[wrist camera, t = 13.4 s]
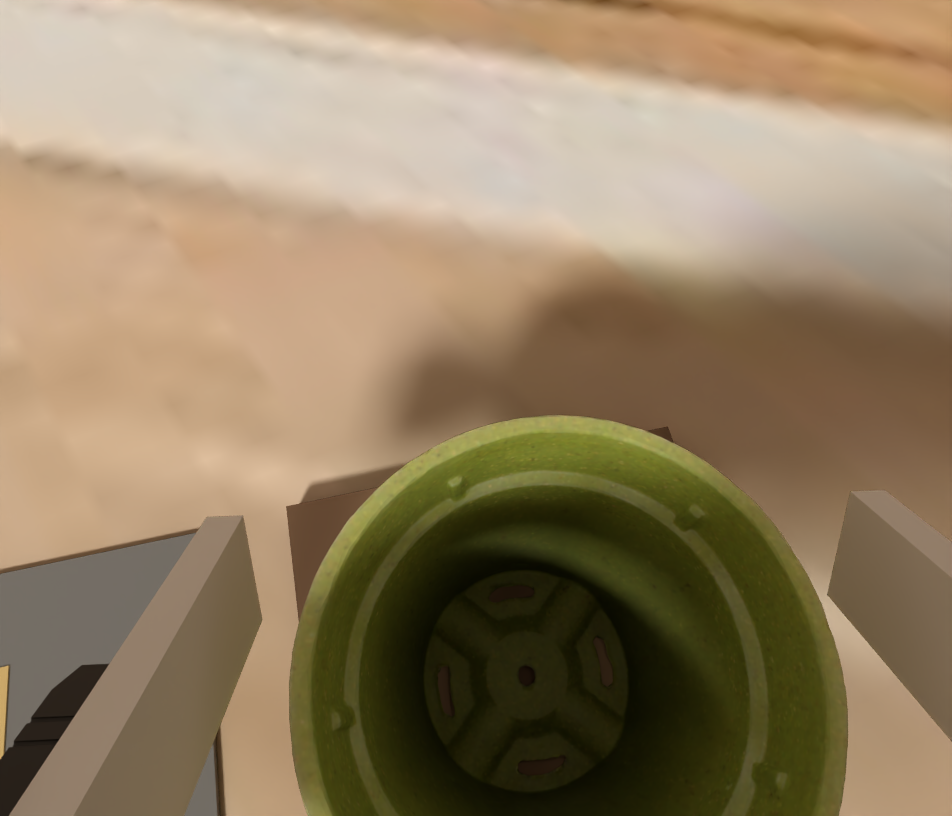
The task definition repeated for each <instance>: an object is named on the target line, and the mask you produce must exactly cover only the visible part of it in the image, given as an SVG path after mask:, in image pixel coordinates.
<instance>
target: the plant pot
mask: <svg viewBox="0 0 952 816" xmlns="http://www.w3.org/2000/svg"><path fill="white" fill-rule="evenodd" d="M516 585H523V586H528V587H530V588H532V589H533V590H534V594H533V595H532V597H521V598H518V597H516V598H508V599H504V600H501V601H500V602H495V603H493V602H491V601H490V600H489V596H490V595H491V593H492V592H494V591H495V590H496V589H497V588H501V587H510V586H516ZM596 636H597V637H598V638H601V639H602V640H603V641H604V642H605V646H606V650H607V655H608V658H609V660H610V661H611V663H612V666H613V682H612V684H610V685H609V686H608V687H606V686H605V685H604V684H602V680H601V676H602V675H601V671H600V664H599V659H598V655H597V651H596V648H595V646H594V644H593V640H594V638H595V637H596ZM444 666H448V668H449V676H450V692H451V697H452V702H453V706H454V710H455V714H454V716H450V715H449V714H446V713H445V712H444V710H443V707H442V704H441V700H440V692H439V687H438V673H439V672H440V670H441V668H442V667H444ZM523 666H529V667H531V668H533V670H534V675H535V680H534V682H533V683H532V684H531V685H528V686H525V685H524V684H522V683H521V682H520V680H519V676H518V674H519V670H520V668H521V667H523ZM289 720H290V732H291V741H292V755H293V761H294V766H295V772H296V776H297V781H298V785H299V789H300V792H301V796H302V799H303V803H304V806H305V809H306V812H307V814H308V816H839V811H840V807H841V803H842V797H843V789H844V782H845V773H846V759H847V748H848V709H847V697H846V689H845V685H844V678H843V672H842V667H841V663H840V659H839V655H838V652H837V649H836V645H835V641H834V638H833V635H832V633H831V630H830V628H829V625H828V622H827V619H826V616H825V612H824V609H823V607H822V604H821V602H820V599H819V597H818V595H817V593H816V591H815V589H814V587H813V585H812V583H811V581H810V579H809V577H808V575H807V573H806V571H805V570H804V568H803V567H802V565H801V563H800V562H799V560H798V559H797V557H796V556H795V554H794V553H793V551H792V549H791V547H790V546H789V544H788V543H787V541H786V540H785V538H784V537H783V535H782V534H781V533H780V531H779V530H778V529H777V527H776V526H775V525H774V523H773V522H772V521H771V520H770V519H769V518H768V517H767V515H766V514H765V513H764V512H763V511H762V509H761V508H760V507H759V506H758V505H757V503H755V502H754V501H753V500H752V499H751V498H750V497H749V496H748V495H747V494H745V493H744V492H743V491H742V490H740V489H739V488H738V487H737V486H736V485H734V484H733V483H732V482H731V481H730V480H729V479H728V478H727V477H726V476H724V475H723V474H722V473H720V472H719V471H718V470H716V469H715V468H714V467H713V466H711V465H710V464H709V463H707V462H706V461H704V460H703V459H701V458H700V457H698V456H696V455H695V454H693V453H692V452H690V451H688V450H687V449H685V448H683V447H680V446H678V445H677V444H675V443H672V442H670V441H668V440H666V439H664V438H662V437H659V436H657V435H655V434H652V433H650V432H648V431H645V430H642V429H640V428H637V427H633V426H629V425H626V424H622V423H619V422H614V421H610V420H604V419H599V418H593V417H585V416H571V415H544V416H534V417H524V418H518V419H512V420H507V421H503V422H498V423H492V424H489V425H486V426H482V427H479V428H476V429H473V430H471V431H468V432H465V433H462V434H459V435H457V436H455V437H452V438H450V439H448V440H446V441H444V442H442V443H441V444H439V445H437V446H435V447H433V448H431V449H430V450H428V451H427V452H425V453H423V454H421V455H420V456H418V457H417V458H415V459H413V460H412V461H410V462H409V463H407V464H406V465H405V466H403V467H402V468H401V469H399V470H398V471H397V472H395V473H394V474H393V475H392V476H391V477H389V478H388V479H387V480H386V481H385V482H384V483H383V484H382V485H381V486H380V487H379V488H377V489H376V490H375V491H374V492H373V494H372V495H371V496H370V497H369V498H368V499H367V500H366V501H365V502H364V503H363V504H362V505H361V506H360V507H359V508H358V510H357V511H356V512H355V513H354V515H352V516H351V517H350V518H349V520H348V521H347V523H346V524H345V525H344V527H343V529H342V530H341V532H340V533H339V534H338V536H337V538H336V539H335V541H334V542H333V544H332V545H331V547H330V549H329V550H328V552H327V554H326V556H325V558H324V559H323V561H322V563H321V565H320V567H319V569H318V571H317V573H316V575H315V577H314V580H313V582H312V585H311V588H310V590H309V593H308V596H307V599H306V601H305V604H304V607H303V610H302V613H301V617H300V621H299V625H298V629H297V633H296V638H295V642H294V647H293V652H292V663H291V669H290V680H289ZM560 755H564V756H565V757H566V760H564V762H563V764H562V765H561V766H560V767H558V768H556V769H554V770H553V771H551V772H549V773H546V774H543V775H530V776H527V775H525V774H523V773H521V772H519V770H518V763H519V762H520V761H523V760H525V761H533V760H544V759H549V758H551V757H556V758H558V757H559V756H560Z"/></svg>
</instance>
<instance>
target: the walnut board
mask: <svg viewBox="0 0 952 816" xmlns="http://www.w3.org/2000/svg"><path fill="white" fill-rule="evenodd" d="M648 432H650V433H652V434H655V435H657V436H659V437H662V438H664V439H666V440H668V441H670V442H672V443H673V440H672V437H671V434H670V432H669V429H668V427H664V428H659V429H654V430H649V431H648ZM377 488H379V487H377ZM377 488H372V489H367V490H363V491H358V492H353V493H348V494H344V495H339V496H334V497H329V498H324V499H320V500H315V501H310V502H305V503H301V504H296V505H291V506H286V508H287V517H288V526H289V536H290V545H291V554H292V563H293V572H294V581H295V591H296V600H297V609H298V618H299V621H300V617H301V613H302V610H303V607H304V604H305V601H306V599H307V596H308V593H309V590H310V588H311V585H312V582H313V580H314V577H315V575H316V573H317V571H318V569H319V567H320V565H321V563H322V561H323V559H324V558H325V556H326V554H327V552H328V550H329V549H330V547H331V545H332V544H333V542H334V541H335V539H336V538H337V536H338V534H339V533H340V532H341V530H342V529H343V527H344V525H345V524H346V523H347V521H348V520H349V518H350V517H351V516H352V515H354V513H355V512H356V511H357V510H358V508H359V507H360V506H361V505H362V504H363V503H364V502H365V501H366V500H367V499H368V498H369V497H370V496H371V495H372V494H373V492H374V491H375V490H376V489H377ZM533 594H534V590H533V589H532V588H530V587H528V586H523V585H516V586H510V587H501V588H497V589H496V590H495V591H494V592H492V593H491V595H490V596H489V600H490V601H491V602H493V603H495V602H500V601H501V600H504V599H508V598H516V597H518V598H521V597H532V595H533ZM593 644H594V646H595V648H596V651H597V655H598V659H599V664H600V671H601V675H602V676H601V680H602V684H604V685H605V686H606V687H608V686H609V685H610V684H612V682H613V666H612V663H611V661H610V660H609V658H608V655H607V650H606V646H605V642H604V641H603V640H602V639H601V638H598V637H597V636H596V637H595V638H594V640H593ZM518 676H519V680H520V682H521V683H522V684H524V685H525V686H528V685H531V684H532V683H533V682H534V680H535V675H534V670H533V668H531V667H529V666H523V667H521V668H520V670H519V674H518ZM438 687H439V692H440V700H441V704H442V707H443V710H444V712H445V713H446V714H449V715H450V716H454V714H455V710H454V706H453V702H452V697H451V692H450V676H449V668H448V666H444V667H442V668H441V670H440V672H439V673H438ZM564 760H566V757H565V756H564V755H560V756H559V757H558V758H556V757H551V758H549V759H544V760H533V761H525V760H523V761H520V762H519V763H518V770H519V772H521V773H523V774H525V775H527V776H530V775H543V774H546V773H549V772H551V771H553V770H554V769H556V768H558V767H560V766H561V765H562V764H563V762H564Z"/></svg>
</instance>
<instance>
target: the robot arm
mask: <svg viewBox="0 0 952 816" xmlns="http://www.w3.org/2000/svg"><path fill="white" fill-rule="evenodd" d="M827 595H828V596H829V597H830V598H831V600H832V601H833V602H834V603H835V604H836V606H837V607H838V608H839V609H840V610H841V611H842V613H843V614H844V615H845V616H846V617H847V619H848V620H849V621H850V622H851V623H852V624H853V626H854V627H855V628H856V629H857V630H858V632H859V633H860V634H861V635H862V636H863V637H864V639H865V640H866V641H867V642H868V643H869V644H870V646H871V647H872V648H873V649H874V650H875V652H876V653H877V654H878V655H879V656H880V657H881V659H882V660H883V661H884V662H885V663H886V665H887V666H888V667H889V668H890V669H891V670H892V672H893V673H894V674H895V675H896V676H897V678H898V679H899V680H900V681H901V682H902V683H903V685H904V686H905V687H906V688H907V689H908V690H909V692H910V693H911V694H912V695H913V696H914V698H915V699H916V700H917V701H918V702H919V703H920V705H921V706H922V707H923V708H924V709H925V711H926V712H927V713H928V714H929V715H930V716H931V718H932V719H933V720H934V721H935V722H936V723H937V725H938V726H939V727H940V728H941V729H942V731H943V732H944V733H945V734H946V735H947V736H948V738H949V739H950V740H951V741H952V542H951V541H949V540H948V539H947V538H946V537H944V536H943V535H942V534H941V533H939V532H938V531H937V530H935V529H934V528H933V527H932V526H930V525H929V524H928V523H926V522H925V521H924V520H923V519H921V518H920V517H919V516H918V515H916V514H915V513H914V512H912V511H911V510H910V509H909V508H907V507H906V506H905V505H903V504H902V503H901V502H900V501H898V500H897V499H896V498H895V497H893V496H892V495H891V494H889V493H888V492H887V491H886V490H870V491H850V495H849V499H848V504H847V508H846V513H845V517H844V522H843V526H842V531H841V535H840V540H839V544H838V549H837V553H836V558H835V562H834V567H833V571H832V576H831V580H830V585H829V589H828V594H827ZM261 622H262V615H261V610H260V604H259V599H258V594H257V588H256V583H255V577H254V572H253V566H252V561H251V556H250V550H249V545H248V539H247V534H246V528H245V523H244V518H243V516H218V517H206V519H205V520H204V522H203V523H202V525H201V526H200V528H199V529H198V531H197V532H196V534H195V535H194V537H193V538H192V540H191V541H190V543H189V544H188V546H187V547H186V549H185V551H184V552H183V554H182V555H181V557H180V558H179V560H178V561H177V563H176V564H175V566H174V567H173V569H172V570H171V572H170V573H169V575H168V576H167V578H166V579H165V581H164V582H163V584H162V585H161V587H160V588H159V590H158V591H157V593H156V594H155V596H154V597H153V599H152V600H151V602H150V603H149V605H148V606H147V608H146V609H145V611H144V612H143V614H142V615H141V617H140V618H139V620H138V621H137V623H136V624H135V626H134V628H133V629H132V631H131V632H130V634H129V635H128V637H127V638H126V640H125V641H124V643H123V644H122V646H121V647H120V649H119V650H118V652H117V653H116V655H115V656H114V658H113V659H112V661H111V662H110V664H91V665H81V666H80V667H79V668H77V669H76V670H75V671H74V672H73V673H71V674H70V675H69V676H68V677H66V678H65V679H64V680H63V681H61V682H60V683H59V684H58V685H57V686H55V687H54V688H53V689H52V690H51V691H50V692H49V694H48V695H47V697H46V698H45V699H44V701H43V702H42V703H41V705H40V706H39V707H38V709H37V710H36V711H35V713H34V714H33V715H32V717H31V722H30V723H27V724H26V725H25V726H24V728H23V729H22V730H21V732H20V733H19V734H18V736H17V737H16V739H15V740H14V744H13V747H9V748H8V749H7V751H6V752H5V753H4V755H3V756H2V757H1V759H0V816H184V815H185V812H186V810H187V807H188V805H189V802H190V800H191V797H192V795H193V792H194V790H195V787H196V784H197V782H198V779H199V777H200V774H201V772H202V769H203V767H204V764H205V762H206V759H207V757H208V754H209V752H210V749H211V747H212V744H213V742H214V739H215V737H216V734H217V732H218V729H219V727H220V724H221V722H222V719H223V717H224V714H225V712H226V709H227V707H228V704H229V702H230V699H231V697H232V694H233V692H234V689H235V687H236V684H237V682H238V679H239V677H240V674H241V672H242V669H243V667H244V664H245V662H246V659H247V657H248V654H249V652H250V649H251V647H252V644H253V642H254V639H255V637H256V634H257V632H258V629H259V627H260V624H261Z"/></svg>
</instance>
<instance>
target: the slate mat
mask: <svg viewBox="0 0 952 816" xmlns="http://www.w3.org/2000/svg"><path fill="white" fill-rule="evenodd" d="M195 534H196V533H192V534H188V535H183V536H178V537H173V538H169V539H164V540H159V541H154V542H150V543H145V544H140V545H135V546H131V547H126V548H121V549H116V550H112V551H107V552H102V553H97V554H93V555H88V556H83V557H78V558H74V559H69V560H64V561H59V562H55V563H50V564H45V565H40V566H36V567H31V568H26V569H21V570H17V571H12V572H7V573H2V574H0V759H1V757H2V756H3V755H4V753H5V752H6V751H7V749H8V748H9V747H13V744H14V740H15V739H16V737H17V736H18V734H19V733H20V732H21V730H22V729H23V728H24V726H25V725H26V724H27V723H30V722H31V717H32V715H33V714H34V713H35V711H36V710H37V709H38V707H39V706H40V705H41V703H42V702H43V701H44V699H45V698H46V697H47V695H48V694H49V692H50V691H51V690H52V689H53V688H54V687H55V686H57V685H58V684H59V683H60V682H61V681H63V680H64V679H65V678H66V677H68V676H69V675H70V674H71V673H73V672H74V671H75V670H76V669H77V668H79V667H80V666H81V665H91V664H110V662H111V661H112V659H113V658H114V656H115V655H116V653H117V652H118V650H119V649H120V647H121V646H122V644H123V643H124V641H125V640H126V638H127V637H128V635H129V634H130V632H131V631H132V629H133V628H134V626H135V624H136V623H137V621H138V620H139V618H140V617H141V615H142V614H143V612H144V611H145V609H146V608H147V606H148V605H149V603H150V602H151V600H152V599H153V597H154V596H155V594H156V593H157V591H158V590H159V588H160V587H161V585H162V584H163V582H164V581H165V579H166V578H167V576H168V575H169V573H170V572H171V570H172V569H173V567H174V566H175V564H176V563H177V561H178V560H179V558H180V557H181V555H182V554H183V552H184V551H185V549H186V547H187V546H188V544H189V543H190V541H191V540H192V538H193V537H194V535H195ZM184 816H220V809H219V791H218V774H217V756H216V739H214V742H213V744H212V747H211V749H210V752H209V754H208V757H207V759H206V762H205V764H204V767H203V769H202V772H201V774H200V777H199V779H198V782H197V784H196V787H195V790H194V792H193V795H192V797H191V800H190V802H189V805H188V807H187V810H186V812H185V815H184Z"/></svg>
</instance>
